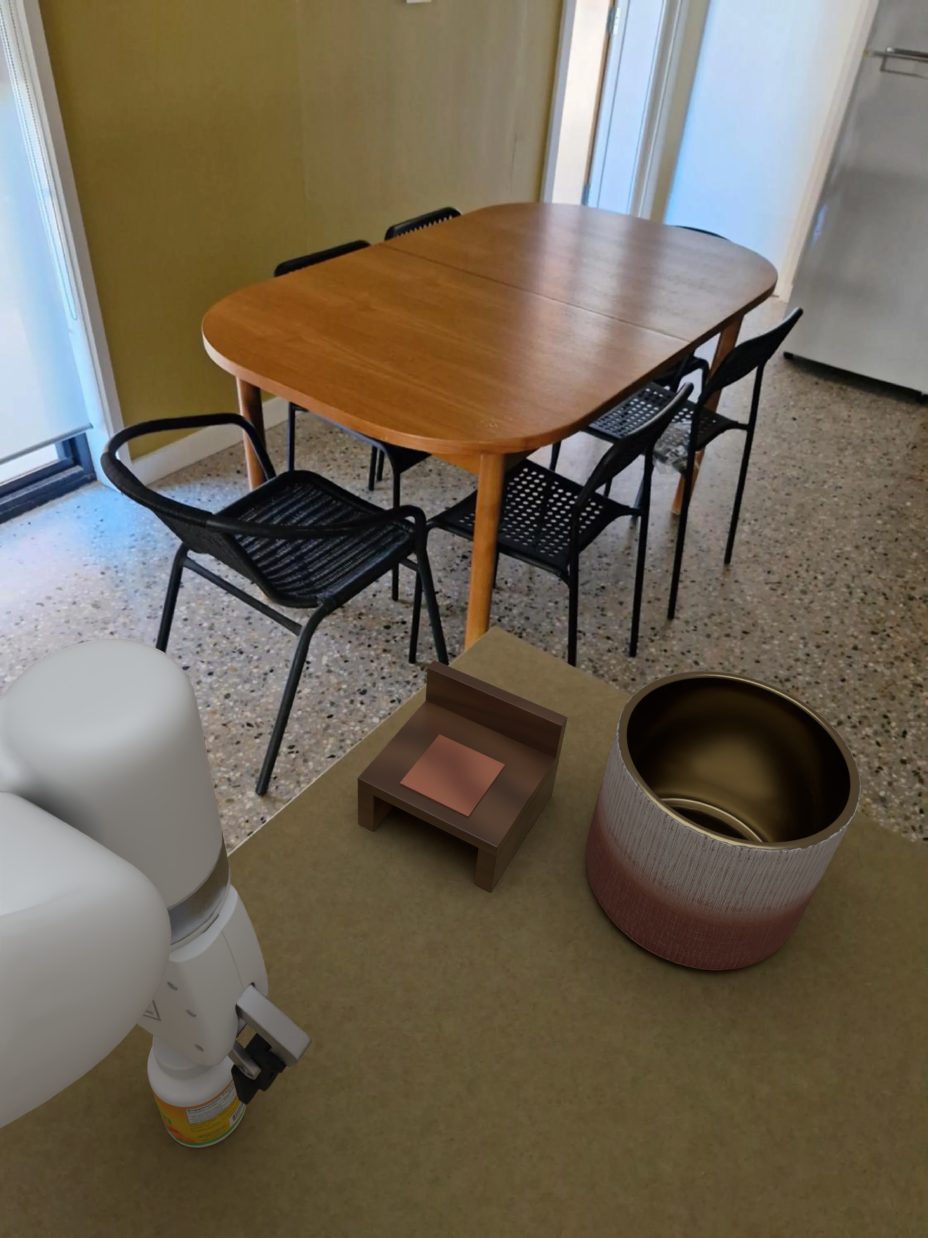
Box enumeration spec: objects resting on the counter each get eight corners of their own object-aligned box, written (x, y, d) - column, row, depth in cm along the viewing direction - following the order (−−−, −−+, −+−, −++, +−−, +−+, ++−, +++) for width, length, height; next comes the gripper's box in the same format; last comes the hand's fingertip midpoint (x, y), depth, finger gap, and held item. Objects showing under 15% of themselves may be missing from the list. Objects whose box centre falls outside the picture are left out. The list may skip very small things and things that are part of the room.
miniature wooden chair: (490, 893, 72) (502, 814, 66) (357, 824, 76) (356, 744, 70) (552, 794, 80) (567, 717, 74) (429, 737, 85) (434, 659, 78)
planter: (540, 879, 73) (566, 749, 63) (655, 764, 84) (693, 638, 74) (730, 1026, 65) (795, 902, 55) (832, 877, 75) (902, 751, 65)
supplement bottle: (154, 1085, 59) (129, 1013, 53) (235, 1050, 61) (220, 976, 55) (174, 1166, 55) (150, 1099, 49) (259, 1126, 57) (245, 1056, 51)
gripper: (-47, 847, 42) (42, 1016, 54) (236, 1032, 37) (271, 1179, 48) (76, 746, 48) (134, 920, 59) (342, 894, 42) (351, 1056, 53)
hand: (195, 1036), depth 53 cm, fingers open, 9 cm apart
